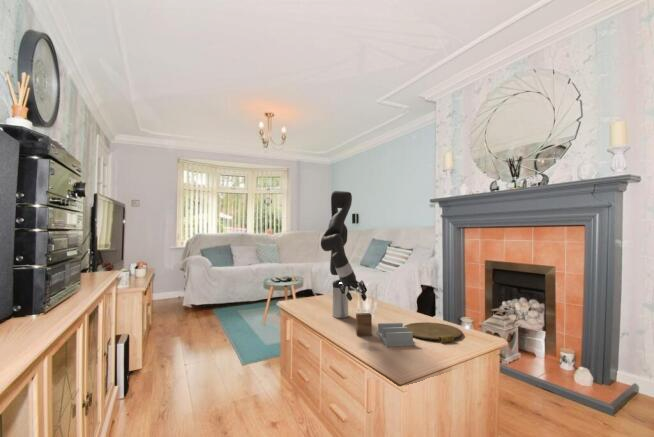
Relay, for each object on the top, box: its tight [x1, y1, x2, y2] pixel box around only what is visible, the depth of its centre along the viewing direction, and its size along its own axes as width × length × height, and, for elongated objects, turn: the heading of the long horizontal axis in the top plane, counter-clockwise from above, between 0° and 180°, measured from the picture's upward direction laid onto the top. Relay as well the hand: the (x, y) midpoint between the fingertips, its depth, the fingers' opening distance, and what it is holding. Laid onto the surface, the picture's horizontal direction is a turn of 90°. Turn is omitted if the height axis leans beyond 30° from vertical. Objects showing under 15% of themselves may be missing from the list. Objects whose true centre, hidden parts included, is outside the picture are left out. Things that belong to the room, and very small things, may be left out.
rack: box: [376, 322, 416, 348], centre depth 146 cm, size 16×13×6 cm
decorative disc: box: [403, 322, 464, 344], centre depth 156 cm, size 29×3×30 cm
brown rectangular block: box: [355, 312, 373, 337], centre depth 153 cm, size 4×7×10 cm, turn 96°
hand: (357, 299), depth 155 cm, fingers open, 8 cm apart
